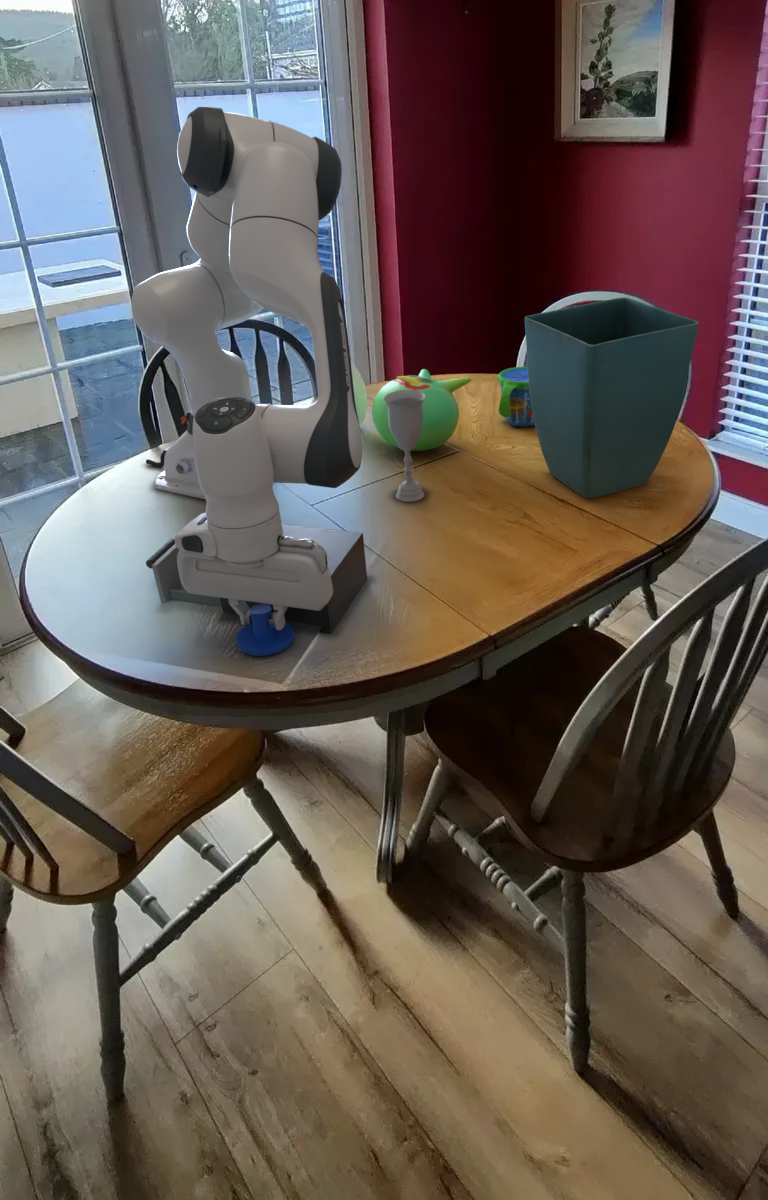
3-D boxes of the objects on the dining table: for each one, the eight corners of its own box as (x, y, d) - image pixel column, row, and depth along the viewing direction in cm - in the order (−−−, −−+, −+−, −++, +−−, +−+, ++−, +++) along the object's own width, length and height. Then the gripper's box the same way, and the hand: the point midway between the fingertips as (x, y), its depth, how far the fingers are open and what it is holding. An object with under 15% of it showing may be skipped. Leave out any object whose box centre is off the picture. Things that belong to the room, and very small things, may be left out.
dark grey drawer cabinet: (223, 618, 118) (213, 570, 114) (268, 567, 129) (260, 521, 125) (331, 634, 113) (324, 584, 108) (367, 579, 124) (363, 532, 120)
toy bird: (359, 444, 169) (353, 373, 161) (425, 422, 176) (421, 354, 168) (412, 471, 156) (408, 395, 148) (480, 446, 164) (480, 373, 156)
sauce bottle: (347, 420, 181) (339, 337, 171) (376, 426, 177) (369, 341, 167) (325, 432, 175) (315, 347, 166) (354, 438, 171) (346, 352, 162)
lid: (252, 620, 114) (247, 590, 112) (303, 627, 112) (299, 597, 109) (226, 651, 108) (220, 620, 106) (279, 659, 106) (274, 628, 103)
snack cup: (526, 405, 181) (527, 359, 175) (566, 415, 174) (569, 368, 169) (479, 427, 172) (479, 379, 166) (520, 439, 165) (521, 389, 160)
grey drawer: (139, 602, 122) (128, 562, 118) (188, 555, 133) (179, 517, 130) (263, 620, 116) (256, 578, 112) (304, 569, 127) (298, 529, 123)
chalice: (425, 504, 144) (421, 405, 134) (387, 503, 145) (380, 404, 135) (431, 486, 150) (428, 389, 140) (395, 485, 151) (388, 389, 141)
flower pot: (578, 515, 137) (590, 343, 121) (518, 471, 152) (522, 315, 137) (679, 489, 142) (702, 321, 127) (611, 449, 158) (624, 296, 143)
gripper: (334, 528, 101) (345, 622, 108) (188, 514, 107) (208, 603, 115) (314, 554, 96) (327, 650, 103) (162, 537, 102) (184, 628, 110)
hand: (263, 625), depth 109 cm, fingers closed on lid, 3 cm apart
